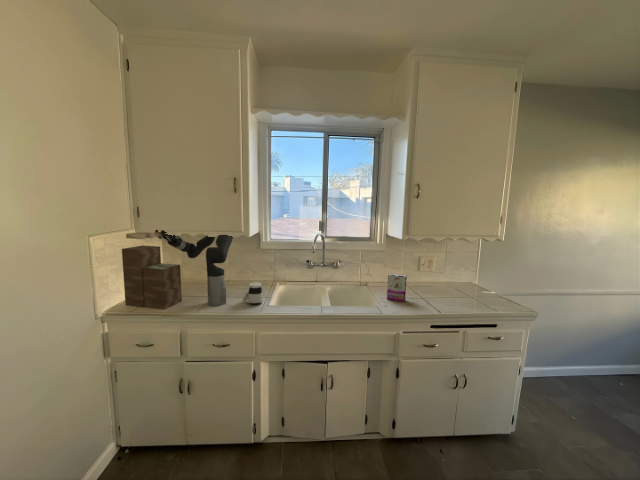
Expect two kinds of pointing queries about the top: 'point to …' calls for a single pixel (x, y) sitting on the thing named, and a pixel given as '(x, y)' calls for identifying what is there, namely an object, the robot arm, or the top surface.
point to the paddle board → (143, 235)
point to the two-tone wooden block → (150, 278)
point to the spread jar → (254, 294)
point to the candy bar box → (396, 287)
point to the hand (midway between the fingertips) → (158, 231)
